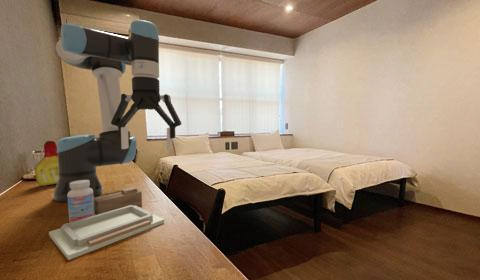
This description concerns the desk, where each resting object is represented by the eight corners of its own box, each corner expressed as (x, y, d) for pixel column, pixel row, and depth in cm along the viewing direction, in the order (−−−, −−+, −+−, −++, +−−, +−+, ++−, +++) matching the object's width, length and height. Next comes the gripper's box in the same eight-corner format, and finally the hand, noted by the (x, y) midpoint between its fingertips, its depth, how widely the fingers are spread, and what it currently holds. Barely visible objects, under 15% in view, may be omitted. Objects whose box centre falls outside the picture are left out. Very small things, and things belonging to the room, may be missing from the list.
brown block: (93, 213, 69) (92, 194, 69) (135, 202, 79) (135, 186, 79) (98, 218, 66) (97, 198, 66) (142, 206, 76) (141, 188, 75)
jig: (49, 235, 55) (48, 225, 55) (136, 209, 72) (136, 201, 72) (68, 260, 45) (67, 248, 45) (164, 222, 62) (164, 214, 62)
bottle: (36, 188, 96) (33, 142, 94) (35, 185, 100) (32, 141, 99) (71, 182, 105) (68, 140, 103) (68, 180, 109) (65, 139, 107)
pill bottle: (68, 226, 60) (65, 185, 59) (70, 219, 65) (67, 181, 64) (95, 220, 63) (92, 181, 62) (95, 214, 68) (92, 178, 67)
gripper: (95, 74, 62) (98, 150, 64) (184, 76, 62) (185, 151, 64) (110, 79, 70) (113, 146, 71) (190, 80, 70) (191, 147, 72)
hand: (147, 149), depth 68 cm, fingers open, 13 cm apart
